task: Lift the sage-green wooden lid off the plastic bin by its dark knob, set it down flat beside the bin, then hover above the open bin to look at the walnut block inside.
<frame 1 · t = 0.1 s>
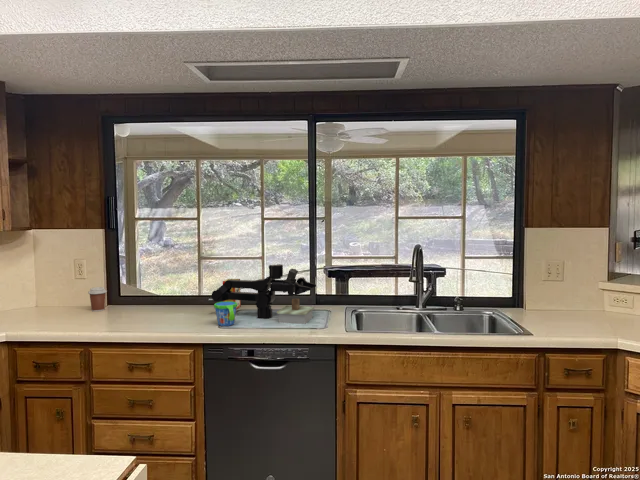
hand: (313, 287, 225), 17 cm above the table, tool horizontal, fingers open, 9 cm apart
snack cup: (226, 325, 220), on the table
walnut block: (295, 319, 226), point 1 cm above the table, touching bin
coffee cup: (98, 310, 253), on the table
bin: (295, 321, 226), on the table
baking soda box: (232, 308, 256), on the table
lid: (295, 310, 226), point 5 cm above the table, touching bin
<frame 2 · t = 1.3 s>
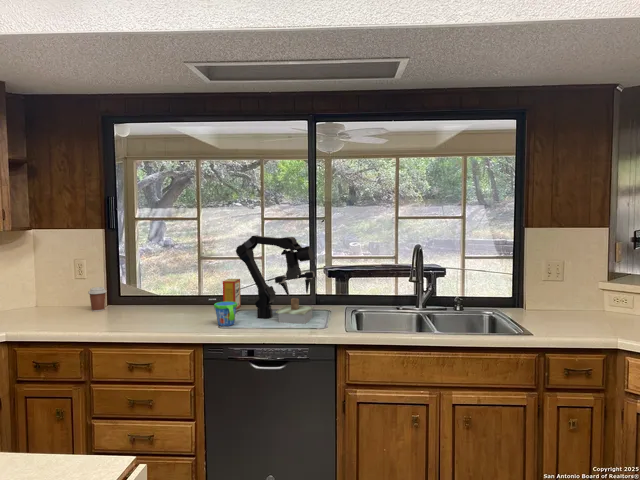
hand: (297, 294, 225), 13 cm above the table, tool pointing down, fingers open, 9 cm apart
nothing on the table moved.
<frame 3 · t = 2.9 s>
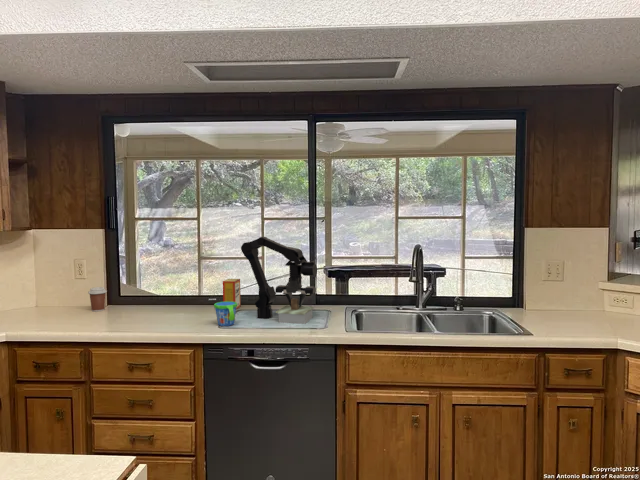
hand: (295, 307, 226), 7 cm above the table, tool pointing down, fingers open, 4 cm apart
lid: (295, 310, 226), point 5 cm above the table, touching bin, gripper
everything else where it was.
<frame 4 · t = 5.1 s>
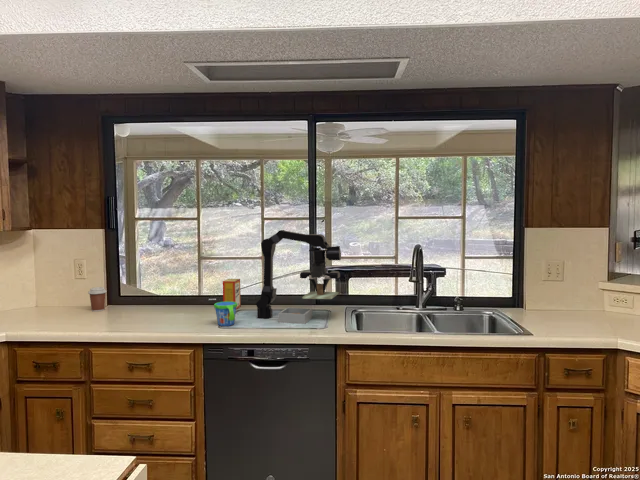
hand: (320, 292, 226), 14 cm above the table, tool pointing down, fingers closed on lid, 3 cm apart
lid: (320, 296, 226), point 12 cm above the table, touching gripper
everything else where it was.
when the fingers open (3 cm above the table, at t = 7.1 s): lid drops 2 cm, on the table.
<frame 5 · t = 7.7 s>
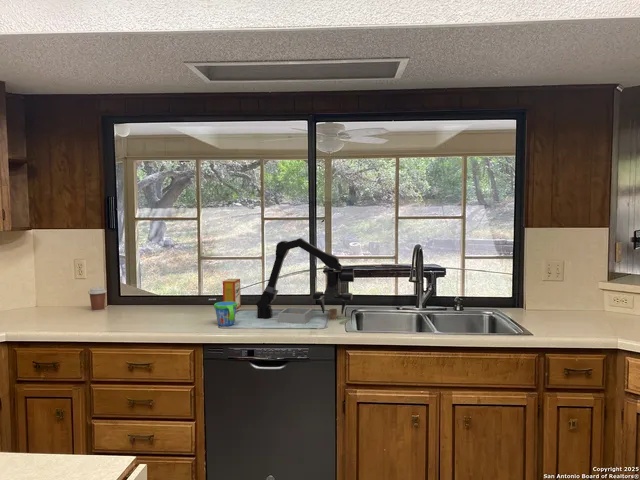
hand: (332, 313, 227), 3 cm above the table, tool pointing down, fingers open, 9 cm apart
lid: (333, 321, 228), on the table
everything else where it was.
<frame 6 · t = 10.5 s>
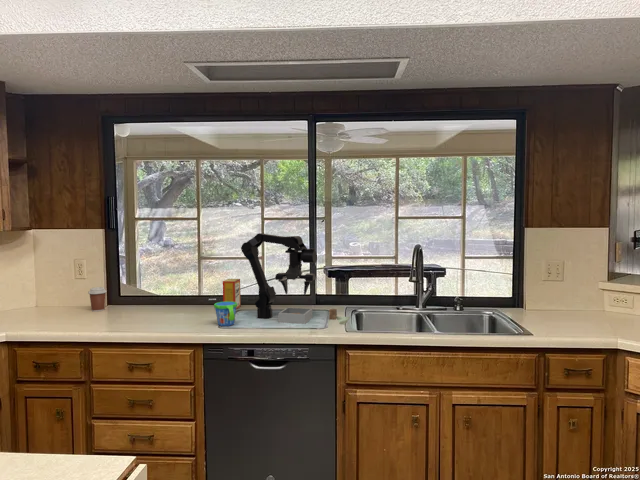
hand: (295, 294, 225), 13 cm above the table, tool pointing down, fingers open, 9 cm apart
nothing on the table moved.
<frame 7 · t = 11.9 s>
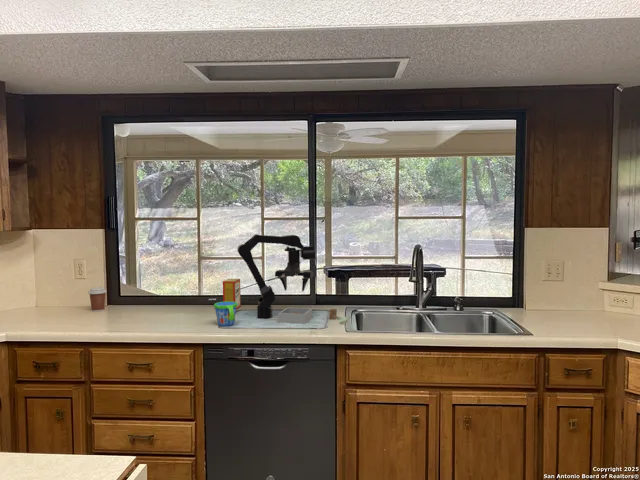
hand: (294, 290, 235), 13 cm above the table, tool pointing down, fingers open, 9 cm apart
nothing on the table moved.
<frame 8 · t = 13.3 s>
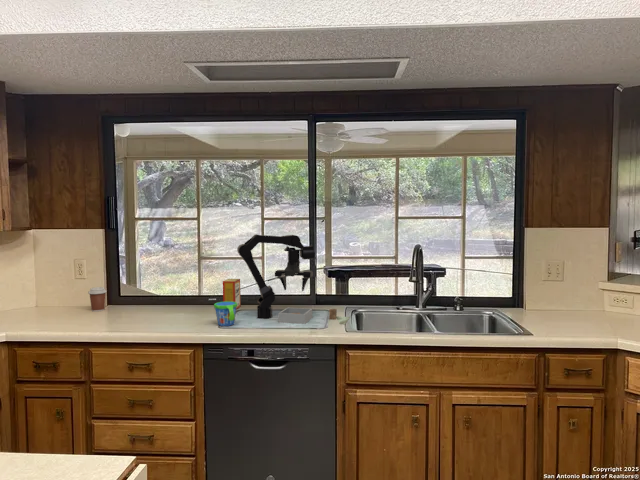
hand: (294, 290, 236), 13 cm above the table, tool pointing down, fingers open, 9 cm apart
nothing on the table moved.
at the end: lid inside the target area (0.4 cm from its centre), on the table; lid tilted 0°; the gripper is holding nothing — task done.
